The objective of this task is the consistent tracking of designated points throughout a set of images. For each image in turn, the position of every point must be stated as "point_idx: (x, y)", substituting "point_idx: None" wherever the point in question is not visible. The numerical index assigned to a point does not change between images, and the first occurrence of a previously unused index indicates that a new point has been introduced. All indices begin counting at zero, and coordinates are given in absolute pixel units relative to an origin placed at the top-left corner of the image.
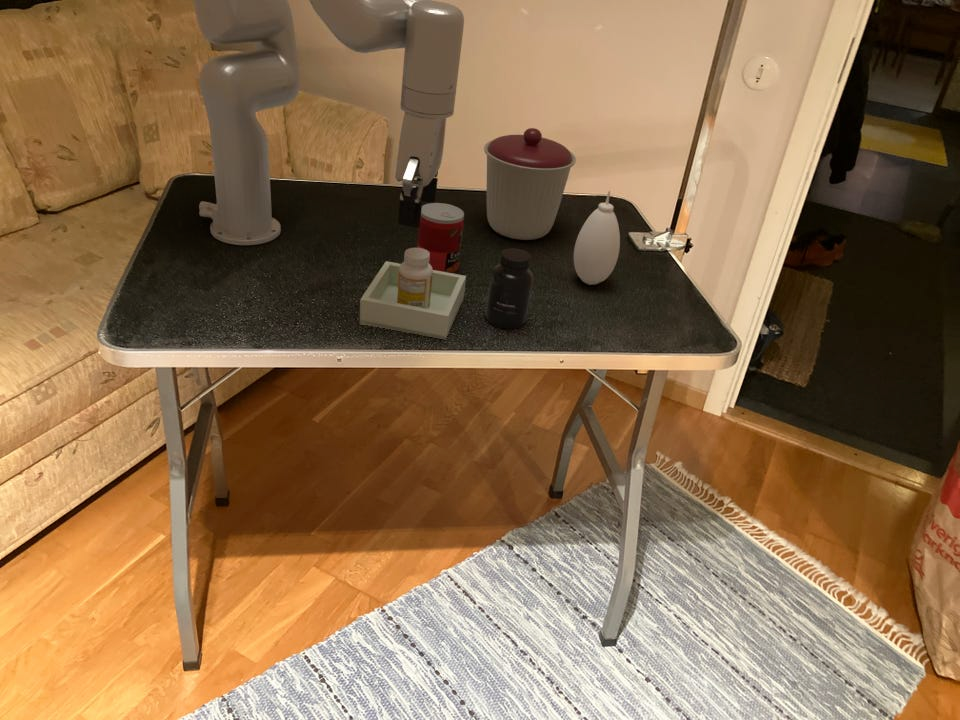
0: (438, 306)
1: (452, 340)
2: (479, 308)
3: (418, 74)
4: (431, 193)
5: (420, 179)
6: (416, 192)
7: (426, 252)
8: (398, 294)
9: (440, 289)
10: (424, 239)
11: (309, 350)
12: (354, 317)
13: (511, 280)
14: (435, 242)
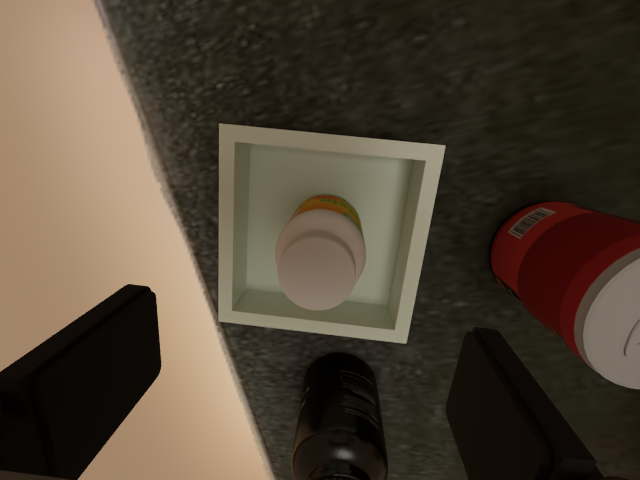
0: None
1: None
2: (368, 341)
3: None
4: (466, 443)
5: (524, 458)
6: (482, 358)
7: (328, 300)
8: (307, 201)
9: (395, 276)
10: (555, 244)
11: (112, 47)
12: (264, 108)
13: (294, 472)
14: (536, 277)
